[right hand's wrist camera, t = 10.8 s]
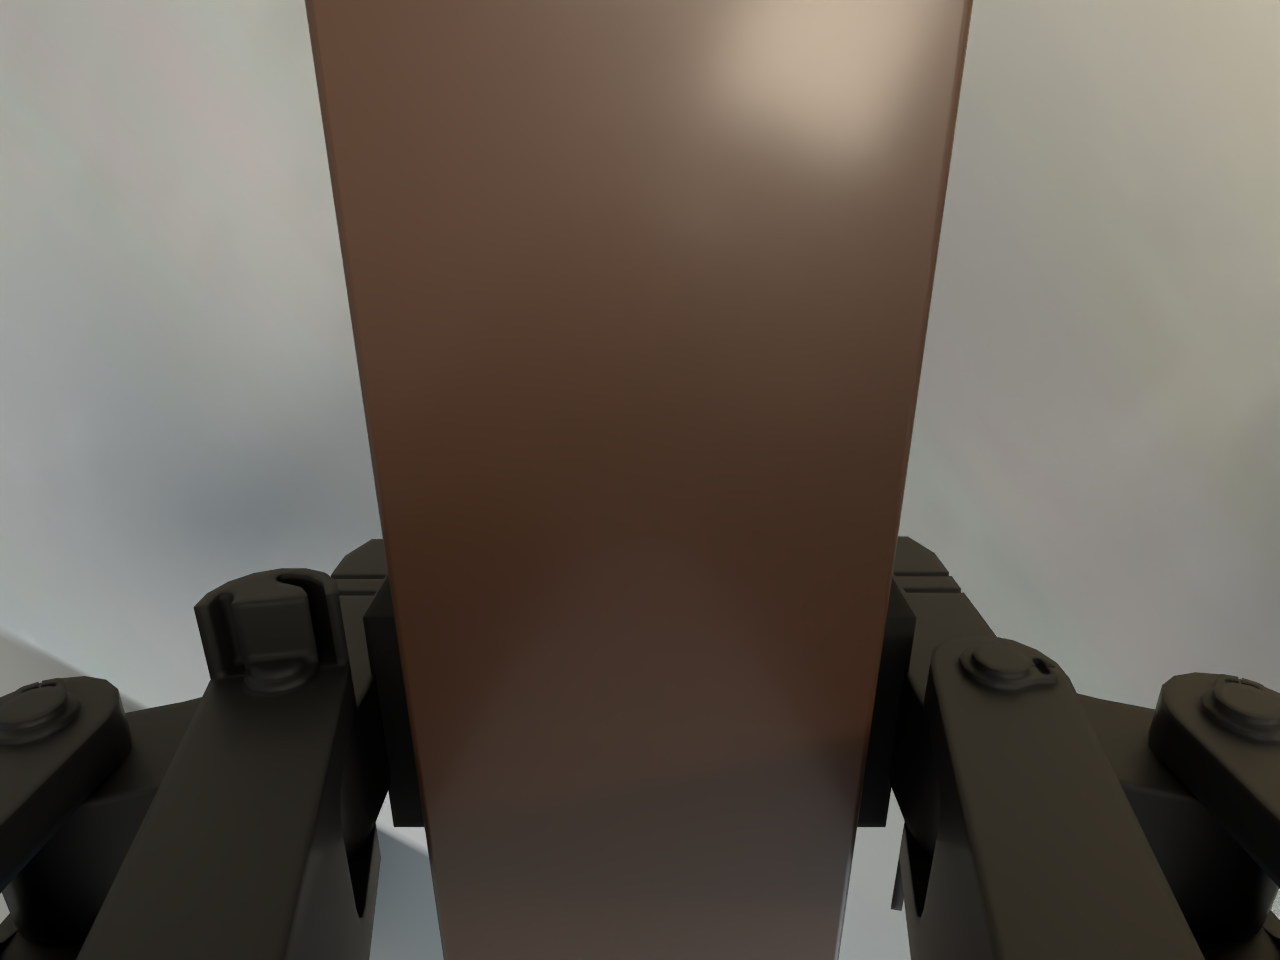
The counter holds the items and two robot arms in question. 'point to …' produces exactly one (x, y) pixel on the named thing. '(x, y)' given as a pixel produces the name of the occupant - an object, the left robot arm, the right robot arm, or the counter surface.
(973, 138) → the counter surface
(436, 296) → the walnut rail
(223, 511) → the counter surface
